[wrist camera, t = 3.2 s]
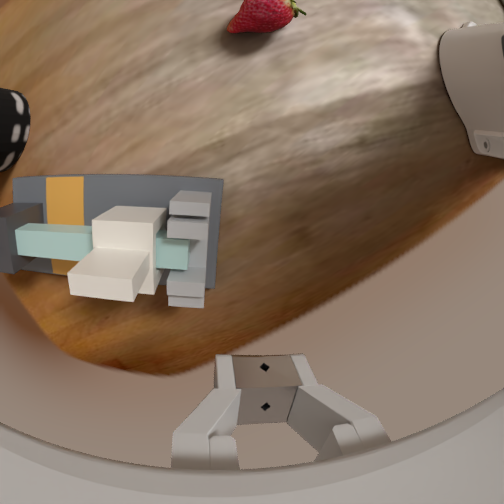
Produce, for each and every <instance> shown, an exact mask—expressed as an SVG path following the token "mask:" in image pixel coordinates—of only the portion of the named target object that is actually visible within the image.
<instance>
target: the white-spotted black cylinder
mask: <svg viewBox="0 0 504 504" xmlns="http://www.w3.org/2000/svg"><path fill="white" fill-rule="evenodd" d="M29 129H30V109H29V105H28V102H27V100H26V98H25V97H24V96H23V95H22V93H20V92H18V91H14V90H9V89H3V88H0V172H3V171H6V170H7V169H9V168H11V167H12V166H13V165H14V164H15V163H16V161H17V160H18V158H19V157H20V155H21V153H22V152H23V150H24V147H25V144H26V142H27V138H28V134H29Z"/></svg>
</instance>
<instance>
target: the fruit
mask: <svg viewBox="0 0 504 504" xmlns="http://www.w3.org/2000/svg"><path fill="white" fill-rule="evenodd" d="M295 3H296V2H295V1H294V0H244V2H243V3H242V5H241V7H240V10H239V12H238V13H237V14H236V15H235V17H234V18H233V19H232V20H231V21H230V23H229V25H228V27H227V31H228V32H230V33H239V32H255V33H265V32H272V31H275V30H278V29H280V28H282V27H284V26H286V25H287V24H288V23H290V21H291V20H292V18H293V17H295V18H296V17H298V11H299V12H300V13H302V14H304V15H306V13H305V12H304V11H302V10H301V9H300V8H298V7H297V6H296V4H295Z"/></svg>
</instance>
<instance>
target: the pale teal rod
mask: <svg viewBox="0 0 504 504" xmlns="http://www.w3.org/2000/svg"><path fill="white" fill-rule="evenodd" d="M15 235H16V243H17V250H18V255H24V256H33V257H43V258H52V259H62V260H73V261H81V260H82V259H83V258H84V257H85V256H86V255H87V254H89V253H90V252H91V251H92V250H93V238H92V226H83V225H62V224H38V223H28V224H26V225H24V226H22V227H20V228H18V229H16V230H15ZM189 253H190V239H181V238H167V230H159V231H158V232H157V233H156V268H167V269H181V270H187V269H188V264H189Z"/></svg>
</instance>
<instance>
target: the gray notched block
mask: <svg viewBox="0 0 504 504" xmlns="http://www.w3.org/2000/svg"><path fill="white" fill-rule="evenodd" d="M211 196H212V192H200V191H184V190H180V191H179V192H178V193H177V194H176V195H175V196H174V197H173V198H172V199H171V200H170V206H169V214H172V216H171V217H170V218H169V220H168V222H167V238H181V239H190V253H189V264H188V269H187V270H181V269H171V270H170V273H169V276H168V279H167V295H168V306H178V307H192V308H204V296H205V281H206V265H207V249H208V234H209V220H210V208H211Z"/></svg>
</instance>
